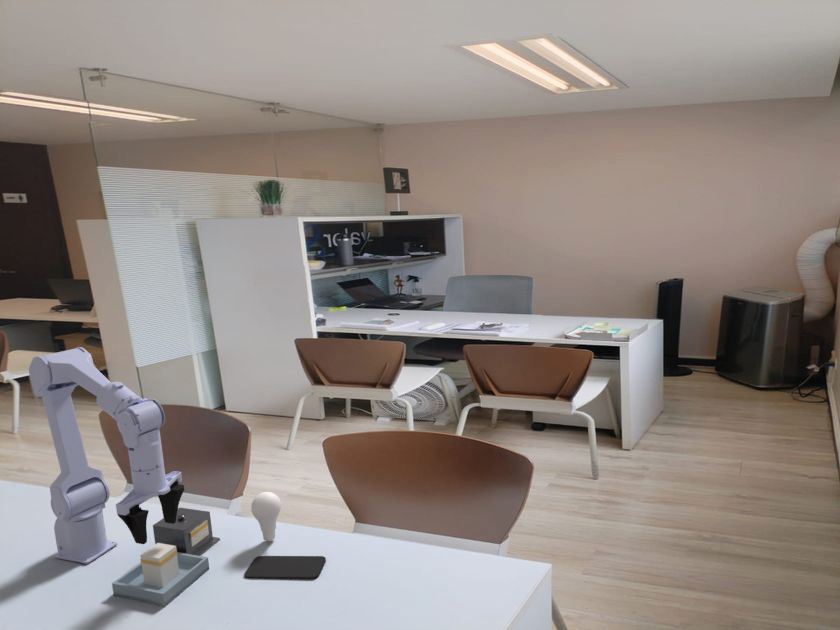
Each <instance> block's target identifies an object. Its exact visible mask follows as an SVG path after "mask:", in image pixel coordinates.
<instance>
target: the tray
mask: <svg viewBox="0 0 840 630" xmlns="http://www.w3.org/2000/svg"><path fill="white" fill-rule="evenodd" d="M177 558H178V565H179V573H180V574H179V575H178V576H177V577H175V578H174V579H173V580H172V581H170V582H169V583H168V584H167V585H166V586H164V587H158V586H153V585H148V584H144V578H143V571H142V564H141V562H139V563H138V564H136V565H135V566H134V567H133V568H131V569H130V570H128V571H127V572H126V573H124V574H123V575H121V576H120V577H119V578H118V579H116V580H114V581H113V582H111V587H112V592H113V593H112V594H113V596H114V597H119V598H124V599H128V600H133V601H137V602H144V603H148V604H152V605H157V606H162V607H166V606H168V605H169V604H170V603H171V602H172V601H174V600H175V599H177V597H178V596H180V595H181V594H182V593H183V592H184V591H185V590H186V589H188V588H189V587H190V586H191V585H192V584H194V583H195V582H196V581H197V580H198V579H200V578H201V577H202V576H203V575H204V574H205V573H207V572H208V571H209V570H210V563H209V557H206V556H202V555H201V556H197V555H191V554H185V553H180V552H177Z"/></svg>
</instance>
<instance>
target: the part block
mask: <svg viewBox="0 0 840 630" xmlns="http://www.w3.org/2000/svg"><path fill="white" fill-rule="evenodd" d="M139 560H140V563H141V564H142V571H143V578H144V584H148V585H153V586H158V587H164V586H166V585H167V584H168V583H169V582H170V581H172V580H173V579H174V578H175V577H177V576H178V575H179V574H180V573H179V565H178V558H177V550H176V546H174V545H168V544H162V543H157V544H155V543H154V545H152V546H150V547H149V548H148V549H146V550H145V551H144V552H142V553H141V554H140V559H139Z"/></svg>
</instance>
